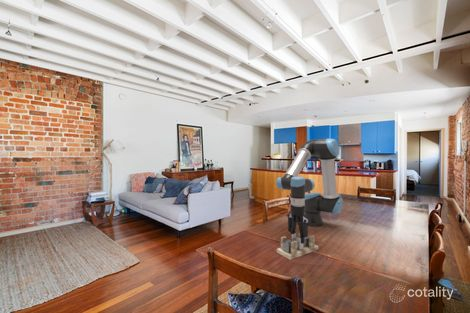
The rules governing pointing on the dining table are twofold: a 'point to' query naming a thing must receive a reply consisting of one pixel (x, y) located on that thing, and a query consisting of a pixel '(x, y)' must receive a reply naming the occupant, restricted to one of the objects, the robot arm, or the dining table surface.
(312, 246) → the rack
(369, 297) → the dining table surface
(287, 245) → the bar
